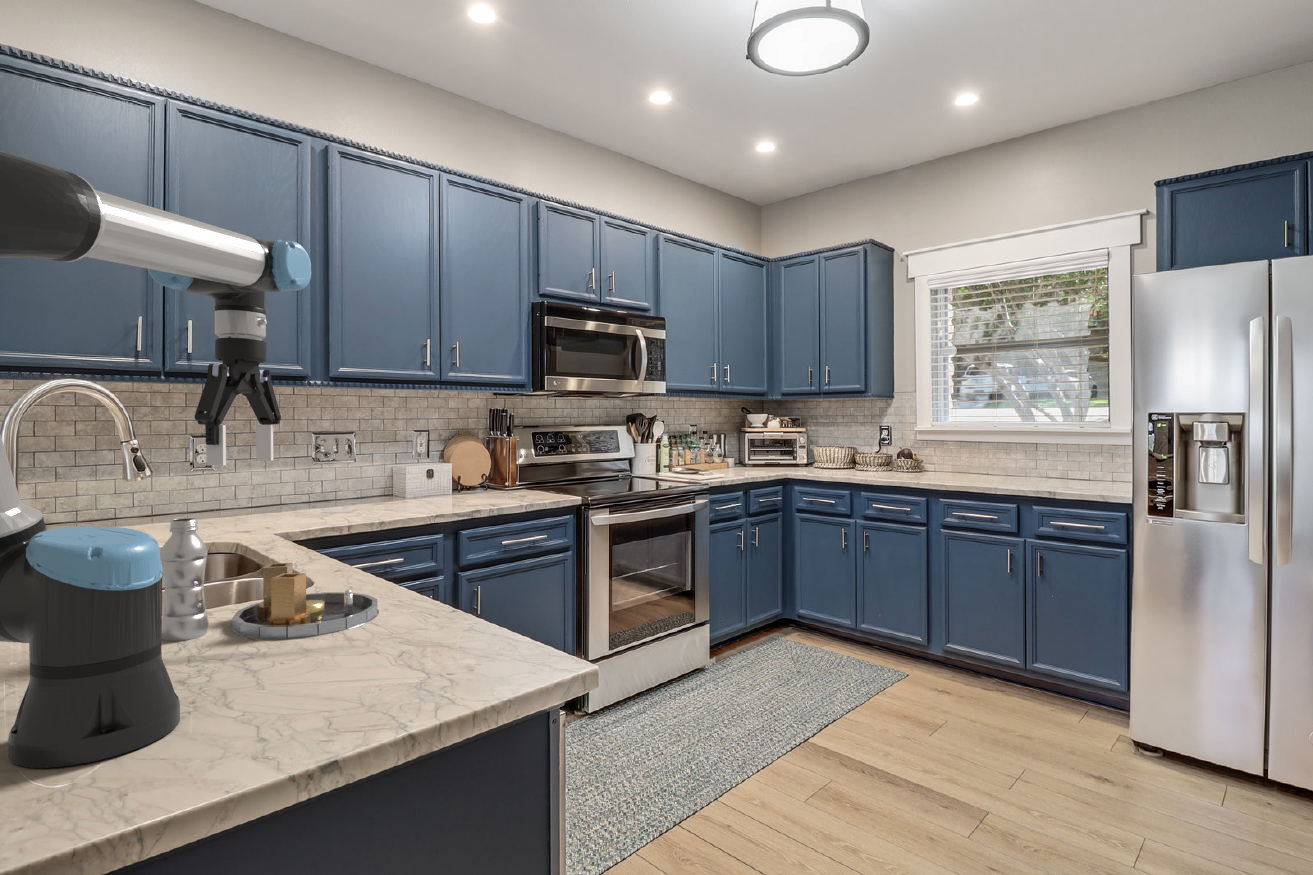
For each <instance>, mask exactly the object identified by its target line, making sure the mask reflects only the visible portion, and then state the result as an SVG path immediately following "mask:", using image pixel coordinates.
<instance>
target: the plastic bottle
mask: <svg viewBox="0 0 1313 875" xmlns="http://www.w3.org/2000/svg"><path fill="white" fill-rule="evenodd" d="M198 530H199V526H198V518H196V517H195V518H194V517H185V518H184V517H183V518H175V519H170V528H169V532H170V533H171V535H170V537H169V538H168V539H167V540H166V542H164V544H163V546H162V547H161V548H160V560H161V564H162V566H163V570H162V571H163V574H162V577H163V583H164V603H163V612H162V639H161V640H163V641H166V642H185V641H190V640H191V641H192V640H195V639H198V638H201V637H204V636H205V635H207V633H208V630H209V625H210V623H209V617H208V612H207V608H206V601H205V592H204V590H205V584H204V583H205V575H206V574H205V573H206V567H207V557H208V548H207V545H206V543H205V542H204V541H203V539H202V538H201V537H200V536H199V535H198V534H197V531H198Z"/></svg>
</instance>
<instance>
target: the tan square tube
mask: <svg viewBox="0 0 1313 875" xmlns="http://www.w3.org/2000/svg"><path fill="white" fill-rule="evenodd" d="M293 568H294V564H293V562H278V563H277V562H276V563H275V562H274V563H268V564H267V565H265V566H264V567H263V569H262V570H263V574H262V575H263V577H262V579H263V580H262V581H263V582H262V583H263V589H262V590H263V599H262V600H263V601H262V602H263V603H260V604H259V605H258V619H261V620H267V618H268V617H270V616H271V578H273V577H276V576H278V575H280V574H283V573H294V571H293V570H294V569H293Z"/></svg>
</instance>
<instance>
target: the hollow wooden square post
mask: <svg viewBox="0 0 1313 875" xmlns="http://www.w3.org/2000/svg"><path fill="white" fill-rule="evenodd" d="M306 594H307V573H301V572H300V573H299V572H298V573H295V572H293V573H283V574H280V575H278V576H276V577H273V578H271V616H270V617H268V618H267V625H299V624H310V623H311V614H310V613H308V612H306Z"/></svg>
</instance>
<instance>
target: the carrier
mask: <svg viewBox="0 0 1313 875" xmlns="http://www.w3.org/2000/svg"><path fill="white" fill-rule="evenodd" d="M260 603H263V601H260V602H256V603H253V604H250V605H247V606H245V607H243V608H240V609H239V610H237V611H236V612H235V613H234V615H233V617H232V629H231V630H232V631H233V632H234V633H235V634H237V635H239V636H242V637H246V638H250V639H251V638H253V639H260V640H261V639H262V640H281V639H282V640H284V639H285V640H288V639H289V640H290V639H302V638H310V637H317V636H323V635H324V636H325V635H328V634H335V633H338V632H343V631H347V630H350V629H354V628H357V627H360V626H362V625H365V624H367V623H370V622H371V621H373V620H374V619H375V618H377V617H378V616H379V613H380V611H379V609H378V606H379V605H378V598H376V597H373V596H371V595H369V594H366V593H359V592H358V593H357V592H353V590H351V589H346V590H345V591H341V592H339V591H336V592H335V591H330V592H329V591H327V592H314V593H306V612H308V613H310V614H311V623H310V624H299V625H267V620H261V619H258V605H259V604H260Z"/></svg>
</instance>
